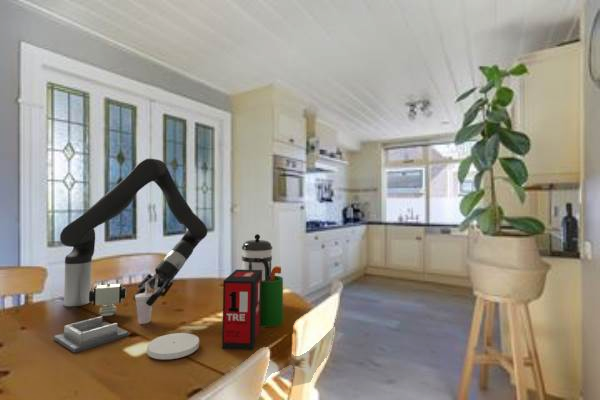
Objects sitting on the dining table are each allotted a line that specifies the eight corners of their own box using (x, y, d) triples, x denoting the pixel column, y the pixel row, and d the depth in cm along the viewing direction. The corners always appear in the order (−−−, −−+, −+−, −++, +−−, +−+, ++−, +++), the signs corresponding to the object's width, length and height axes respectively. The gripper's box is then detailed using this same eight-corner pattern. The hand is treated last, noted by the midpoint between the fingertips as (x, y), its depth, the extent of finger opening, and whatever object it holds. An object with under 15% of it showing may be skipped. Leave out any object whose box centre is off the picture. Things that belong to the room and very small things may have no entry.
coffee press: (229, 309, 129) (230, 235, 129) (250, 299, 144) (251, 232, 144) (267, 315, 122) (268, 237, 123) (285, 304, 137) (286, 234, 138)
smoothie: (158, 320, 116) (158, 281, 116) (142, 326, 110) (143, 285, 110) (145, 317, 119) (146, 279, 119) (130, 323, 113) (130, 283, 113)
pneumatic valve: (124, 314, 121) (125, 283, 122) (88, 319, 116) (89, 286, 117) (125, 310, 126) (126, 279, 127) (90, 314, 121) (91, 282, 122)
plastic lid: (146, 367, 84) (146, 357, 84) (147, 345, 96) (147, 337, 96) (201, 357, 89) (202, 348, 89) (196, 338, 102) (196, 330, 102)
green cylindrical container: (258, 317, 121) (259, 264, 121) (282, 316, 122) (283, 264, 122) (257, 327, 111) (258, 269, 111) (283, 326, 112) (284, 269, 112)
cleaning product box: (252, 350, 94) (253, 281, 94) (222, 349, 94) (223, 280, 94) (261, 328, 110) (262, 270, 110) (235, 327, 110) (236, 269, 111)
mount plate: (53, 339, 99) (54, 326, 99) (105, 325, 111) (106, 313, 111) (74, 353, 90) (75, 338, 90) (128, 335, 102) (128, 322, 102)
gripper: (154, 257, 125) (123, 293, 115) (176, 261, 117) (145, 300, 107) (166, 268, 129) (137, 304, 120) (188, 273, 121) (159, 312, 112)
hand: (141, 302), depth 114 cm, fingers open, 8 cm apart
